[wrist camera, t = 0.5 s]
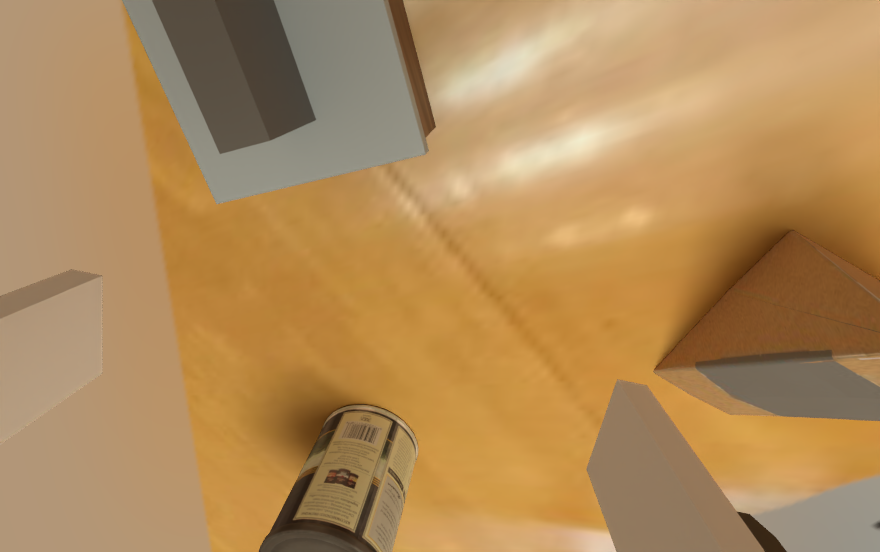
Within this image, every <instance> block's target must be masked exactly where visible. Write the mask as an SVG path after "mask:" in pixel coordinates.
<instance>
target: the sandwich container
mask: <svg viewBox="0 0 880 552" xmlns="http://www.w3.org/2000/svg"><path fill="white" fill-rule="evenodd" d="M653 372H654V373H655V374H656V375H658V376H660V377H661V378H663V379H665V380H666V381H668V382H670V383H672V384H673V385H675V386H677V387H678V388H680V389H682V390H683V391H685V392H687V393H688V394H690V395H692V396H694V397H696V398H698V399H700V400H702V401H704V402H706V403H708V404H710V405H712V406H714V407H716V408H718V409H719V410H721V411H723V412H725V413H727V414H730V415H757V416H787V417H810V418H832V419H849V420H868V421H880V281H879V280H877V279H876V278H874V277H872V276H871V275H869V274H867V273H866V272H864V271H862V270H860V269H859V268H857V267H855V266H854V265H852V264H850V263H849V262H847V261H845V260H843V259H842V258H840V257H838V256H837V255H835V254H833V253H832V252H830V251H828V250H826V249H825V248H823V247H821V246H820V245H818V244H816V243H814V242H813V241H811V240H809V239H808V238H806V237H804V236H802V235H801V234H799V233H797V232H796V231H794V230H792V231H790V232H788V233H787V234H786V235H785V236H784V237H783V238H782V239H781V240H780V241H779V242H778V243H777V244H776V245H775V246H774V247H773V248H772V249H771V250H770V251H769V252H768V253H766V254H765V255H764V256H763V257H762V258H761V259H760V260H759V261H758V262H757V263H756V264H755V265H754V266H753V267H752V268H751V269H750V270H749V271H748V272H747V273H746V274H745V275H744V276H743V277H742V278H741V279H740V280H739V281H738V282H737V283H736V284H735V285H734V286H733V287H731V288H730V289H729V290H728V291H727V292H726V294H725V295H724V296H723V297H722V298H721V299H720V300H719V301H718V302H717V303H716V304H715V305H714V306H713V307H712V309H711V310H710V311H709V312H708V313H707V314H706V315H705V316H704V317H703V318H702V319H701V320H700V321H699V322H698V323H697V325H696V326H695V327H694V328H693V329H692V330H691V331H690V332H689V333H688V334H687V335H686V336H685V337H684V338H683V340H682V341H681V342H680V343H679V344H678V345H677V346H676V347H675V348H674V349H673V350H672V351H671V352H670V353H669V354H668V356H667V357H666V358H665V359H664V360H663V361H662V362H661V363H660V364H659V365H658V366H657V367H656V368H655V369H654V371H653Z"/></svg>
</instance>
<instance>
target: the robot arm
mask: <svg viewBox="0 0 880 552" xmlns="http://www.w3.org/2000/svg"><path fill="white" fill-rule="evenodd" d="M101 374H102V275H97V274H91V273H87V272H81V271H77V270H72V269H71V270H69V271H66V272H63V273H61V274H58V275H55V276H53V277H50V278H47V279H45V280H42V281H39V282H37V283H34V284H31V285H29V286H26V287H23V288H21V289H18V290H15V291H12V292H10V293H7V294H5V295H2V296H0V444H2V443H3V442H4V441H6V440H7V439H9V438H10V437H11V436H13V435H14V434H16V433H17V432H19V431H20V430H22V429H23V428H24V427H26V426H27V425H29V424H30V423H32V422H33V421H35V420H36V419H37V418H39V417H40V416H42V415H43V414H45V413H46V412H47V411H49V410H50V409H52V408H53V407H55V406H56V405H58V404H59V403H60V402H62V401H63V400H65V399H66V398H68V397H69V396H70V395H72V394H73V393H75V392H76V391H78V390H79V389H80V388H82V387H83V386H85V385H86V384H88V383H89V382H91V381H92V380H93V379H95V378H96V377H98V376H99V375H101ZM587 472H588V475H589V477H590V480H591V483H592V485H593V488H594V491H595V494H596V496H597V499H598V502H599V505H600V507H601V510H602V513H603V516H604V518H605V521H606V524H607V527H608V529H609V532H610V535H611V538H612V540H613V543H614V546H615V549H616V551H617V552H786V550H785V549H784V548H783V546H782V545H781V544H780V542H779V541H778V540H777V539H776V537H775V536H774V535H772V534H771V533H770V532H769V531H768V530H767V529H766V528H764V527H763V526H762V525H761V524H760V523H759V522H758V521H757V520H755V519H754V518H753V517H752V516H751V515H750V514H746V513H741V512H737V511H736V510H735V509H734V507H733V506H732V504H731V503H730V502H729V500H728V499H727V497H726V496H725V495H724V493H723V492H722V490H721V489H720V488H719V486H718V485H717V483H716V482H715V481H714V479H713V478H712V476H711V475H710V474H709V472H708V471H707V469H706V468H705V467H704V465H703V464H702V462H701V461H700V460H699V458H698V457H697V455H696V454H695V452H694V451H693V450H692V448H691V447H690V445H689V444H688V443H687V441H686V440H685V438H684V437H683V436H682V434H681V433H680V431H679V430H678V429H677V427H676V426H675V424H674V423H673V422H672V420H671V419H670V417H669V416H668V415H667V413H666V412H665V410H664V409H663V408H662V406H661V405H660V403H659V402H658V401H657V399H656V398H655V396H654V395H653V394H652V392H651V391H650V389H649V388H648V386H647V385H642V384H637V383H633V382H628V381H623V380H618V379H617V382H616V385H615V388H614V391H613V393H612V396H611V399H610V402H609V405H608V408H607V411H606V414H605V417H604V420H603V423H602V425H601V428H600V431H599V434H598V437H597V440H596V443H595V446H594V449H593V452H592V455H591V457H590V460H589V463H588V466H587Z"/></svg>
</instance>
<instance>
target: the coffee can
mask: <svg viewBox="0 0 880 552" xmlns="http://www.w3.org/2000/svg"><path fill="white" fill-rule="evenodd" d="M417 457H418V444H417V440H416V438H415V436H414V433H413V432H412V431H411V429H410V428H409V427H408V425H406V423H405V422H404V421H403V420H401V419H400V418H399V417H397V416H396V415H394V414H393V413H391V412H389V411H387V410H384V409H381V408H378V407H375V406H370V405H351V406H346V407H343V408H340V409H338V410H337V411H335V412H333V413H332V414H331V415H330V416H329V417H328V418H327V420H326V421H325V423H324V426H323V429H322V431H321V433H320V435H319V437H318V439H317V441H316V443H315V445H314V447H313V449H312V451H311V453H310V455H309V457H308V459H307V461H306V463H305V464H304V466H303V468H302V470H301V472H300V474H299V476H298V478H297V480H296V482H295V484H294V486H293V488H292V490H291V492H290V494H289V496H288V498H287V500H286V502H285V504H284V506H283V508H282V510H281V512H280V514H279V516H278V518H277V520H276V521H275V523H274V525H273V527H272V529H271V531H270V533H269V534H268V535H267V536H266V538H265V539H264V541H263V543H262V545H261V547H260V549H259V552H392V550H393V546H394V542H395V538H396V534H397V530H398V526H399V522H400V519H401V515H402V511H403V507H404V503H405V499H406V495H407V492H408V488H409V484H410V480H411V476H412V472H413V468H414V465H415V462H416V460H417Z"/></svg>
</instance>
